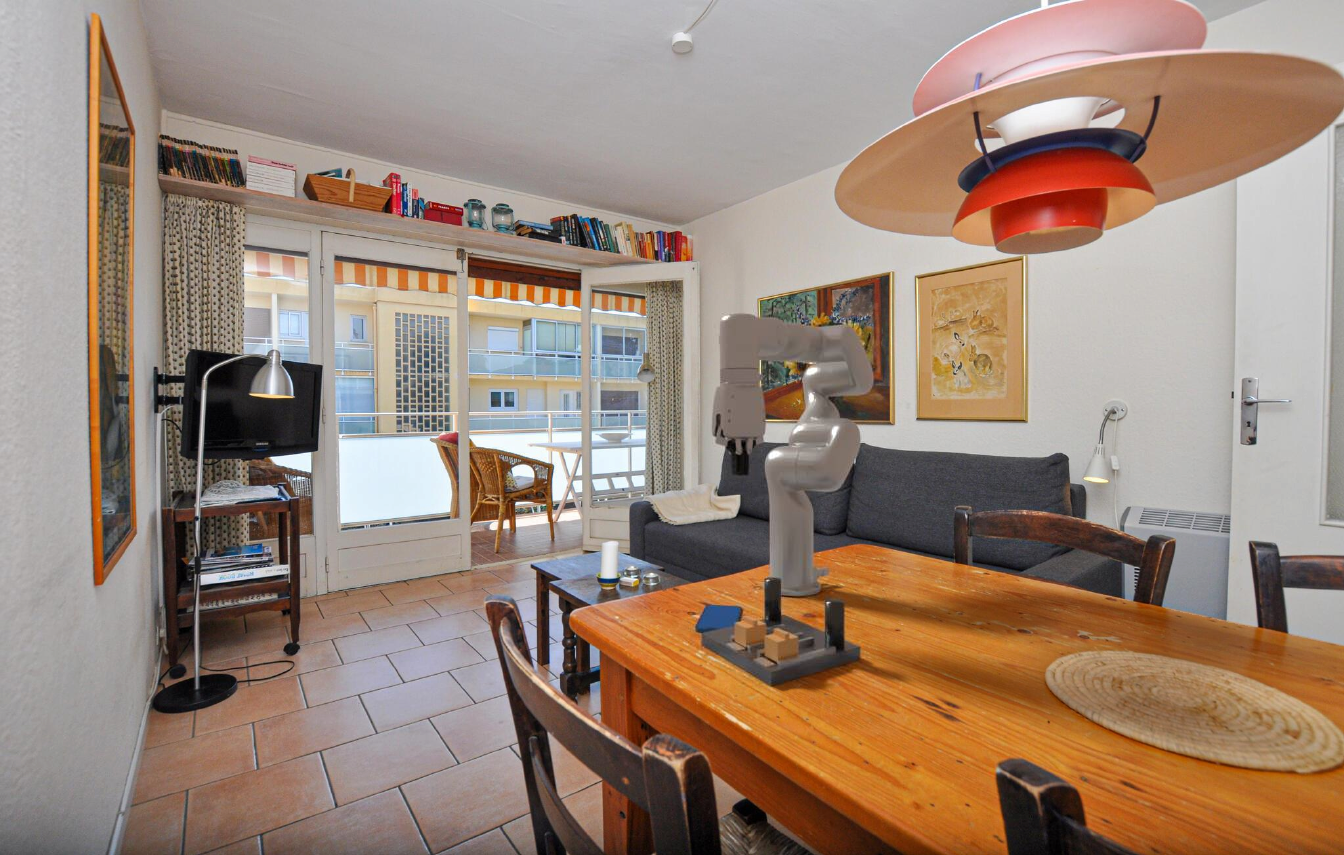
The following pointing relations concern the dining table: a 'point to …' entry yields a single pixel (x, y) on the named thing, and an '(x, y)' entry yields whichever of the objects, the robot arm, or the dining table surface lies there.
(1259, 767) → the dining table surface
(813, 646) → the grey slotted fixture
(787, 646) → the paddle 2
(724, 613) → the smartphone
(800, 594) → the robot arm
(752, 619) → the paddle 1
